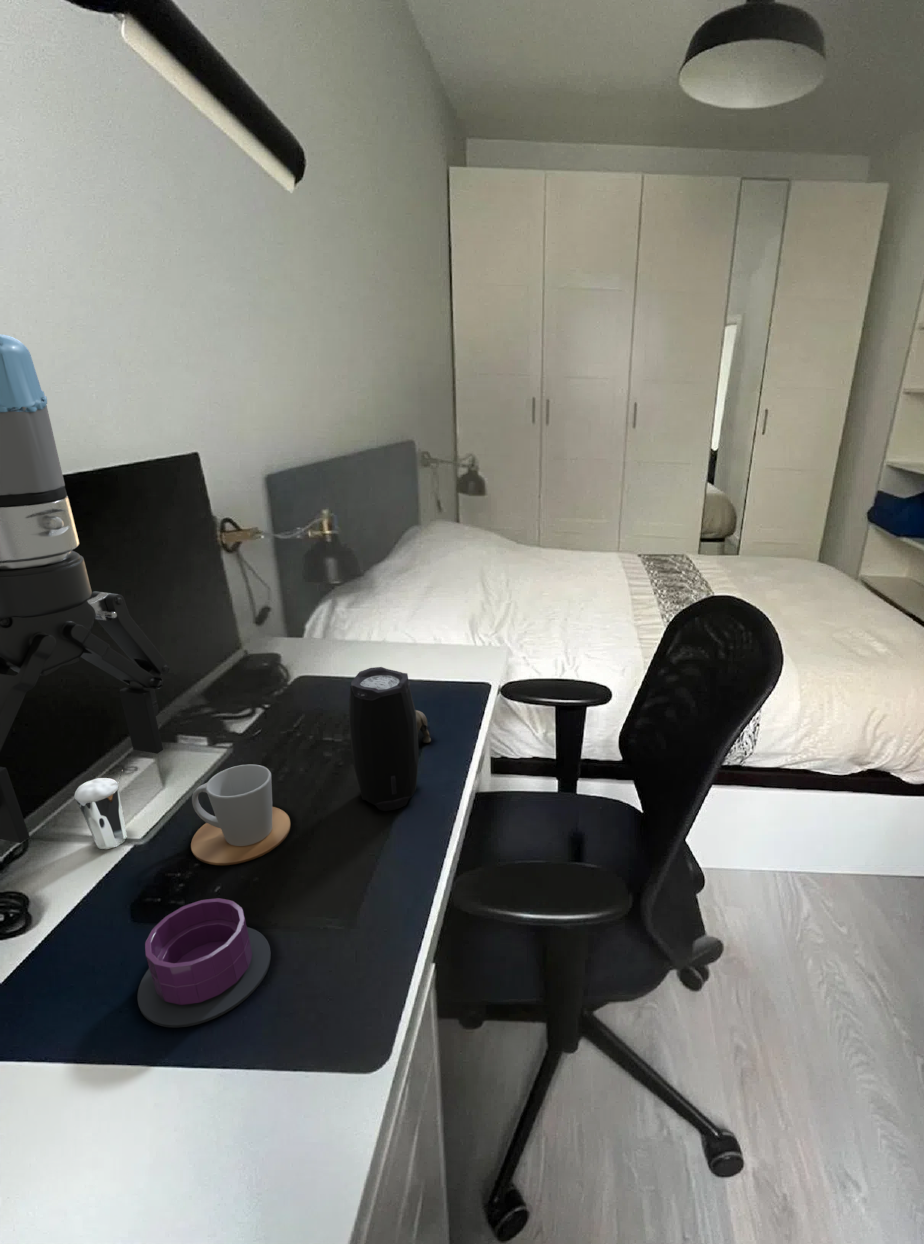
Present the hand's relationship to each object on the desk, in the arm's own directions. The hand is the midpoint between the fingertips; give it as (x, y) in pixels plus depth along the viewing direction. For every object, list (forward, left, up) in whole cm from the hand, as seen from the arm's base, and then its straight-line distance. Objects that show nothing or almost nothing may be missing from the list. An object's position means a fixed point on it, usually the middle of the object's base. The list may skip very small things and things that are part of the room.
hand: (87, 789), depth 56 cm
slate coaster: (+6, +1, -23) cm, 24 cm away
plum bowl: (+6, +1, -22) cm, 23 cm away
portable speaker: (+10, +34, -23) cm, 43 cm away
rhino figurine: (+3, +51, -23) cm, 56 cm away
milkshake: (-20, +16, -23) cm, 34 cm away
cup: (-5, +21, -22) cm, 31 cm away
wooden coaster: (-5, +21, -23) cm, 31 cm away
